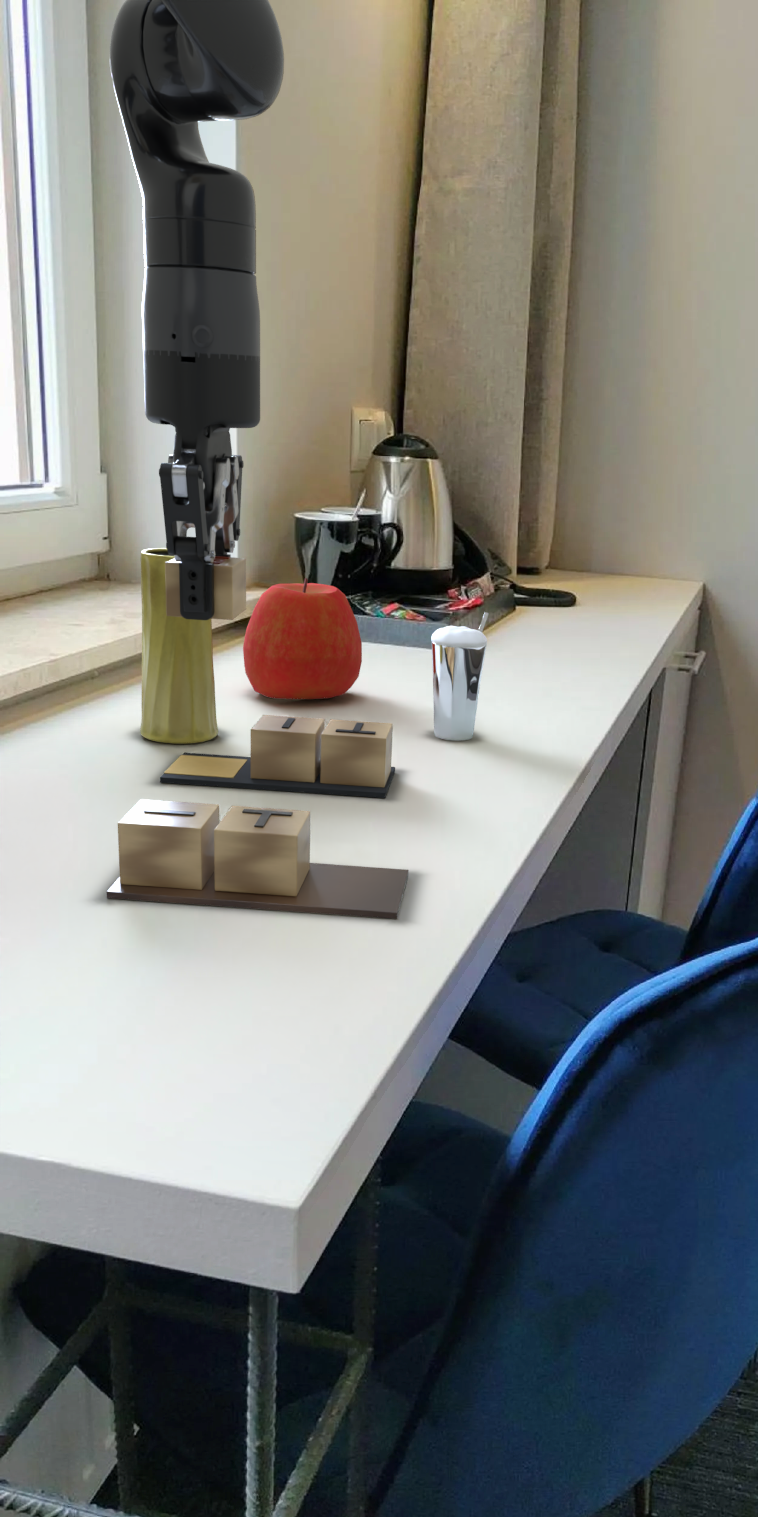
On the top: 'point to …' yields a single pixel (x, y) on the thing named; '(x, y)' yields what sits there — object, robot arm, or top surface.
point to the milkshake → (457, 679)
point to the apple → (302, 643)
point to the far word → (299, 759)
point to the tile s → (225, 587)
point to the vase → (174, 664)
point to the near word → (242, 862)
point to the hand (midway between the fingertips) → (206, 611)
